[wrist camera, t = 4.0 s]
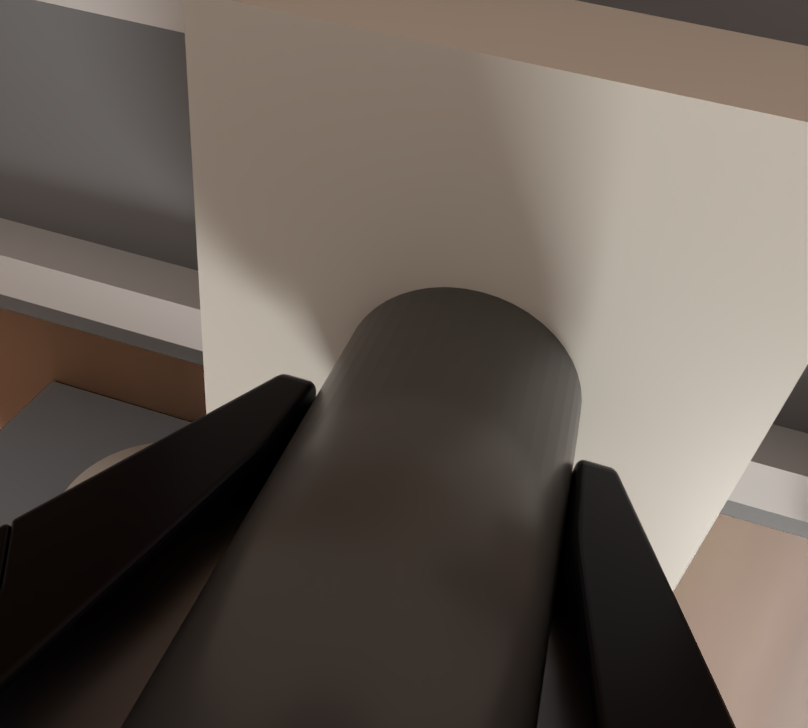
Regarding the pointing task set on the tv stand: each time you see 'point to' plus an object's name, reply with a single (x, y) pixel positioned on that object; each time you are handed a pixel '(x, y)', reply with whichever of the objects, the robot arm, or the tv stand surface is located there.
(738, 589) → the tv stand surface
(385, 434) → the carriage
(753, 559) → the tv stand surface
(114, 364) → the tv stand surface
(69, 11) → the rail board
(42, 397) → the box
